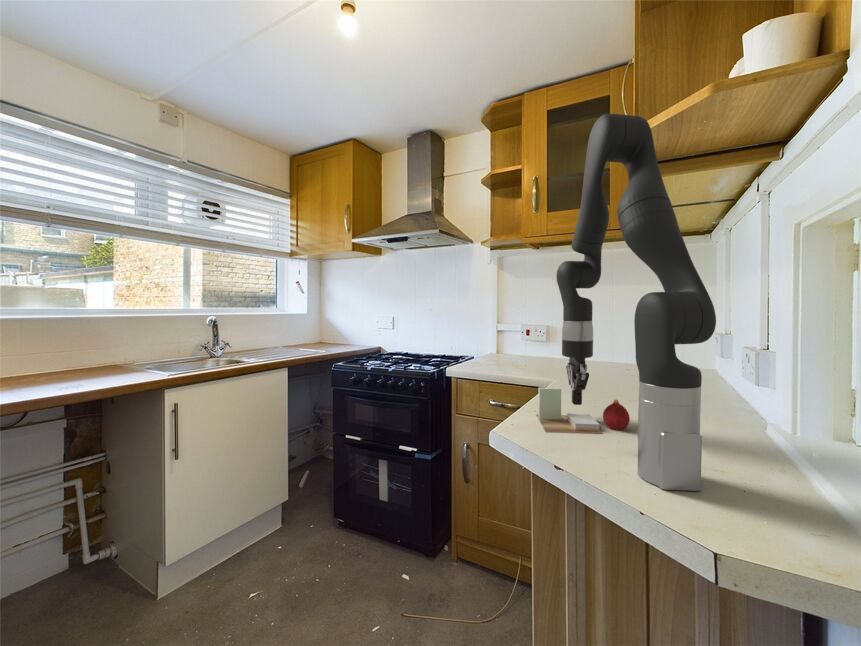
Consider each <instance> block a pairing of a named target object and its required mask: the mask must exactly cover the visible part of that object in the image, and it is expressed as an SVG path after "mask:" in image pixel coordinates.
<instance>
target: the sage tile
mask: <svg viewBox="0 0 861 646" xmlns="http://www.w3.org/2000/svg"><path fill="white" fill-rule="evenodd" d="M537 402H538V403H537V404H538V408H537V409H538V410H537V411H538V414H537V415H538V417H539V419H561V415H562V388H561V387H538V401H537ZM538 417H537V418H538ZM539 419H538V420H539Z"/></svg>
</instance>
